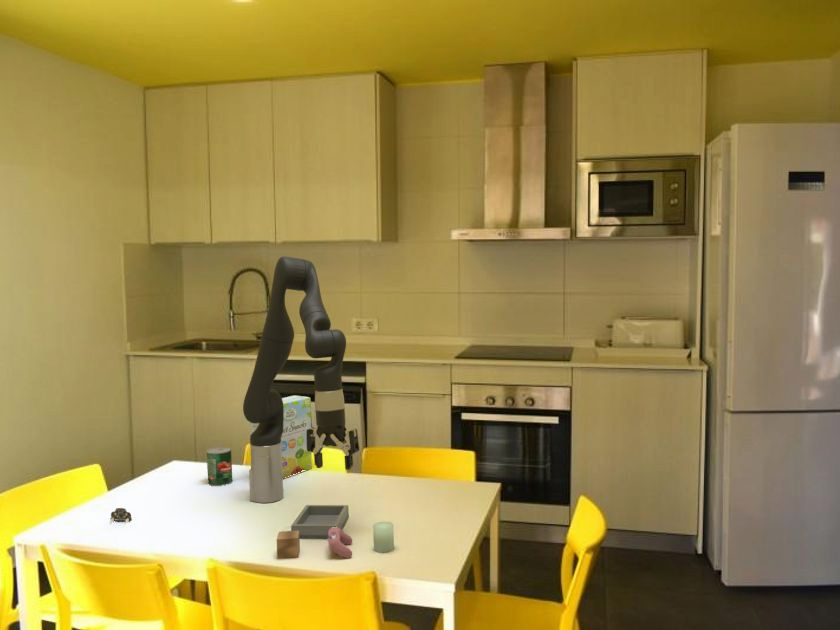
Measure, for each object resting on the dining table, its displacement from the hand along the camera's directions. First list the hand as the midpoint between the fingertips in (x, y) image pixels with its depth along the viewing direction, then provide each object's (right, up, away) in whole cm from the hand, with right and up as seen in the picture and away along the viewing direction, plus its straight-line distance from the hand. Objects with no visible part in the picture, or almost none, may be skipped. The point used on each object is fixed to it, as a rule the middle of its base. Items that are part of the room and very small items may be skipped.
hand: (334, 468), depth 188 cm
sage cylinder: (+13, -18, -9) cm, 24 cm away
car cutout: (-58, -19, +14) cm, 62 cm away
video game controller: (+3, -19, -10) cm, 21 cm away
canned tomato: (-44, -16, +50) cm, 68 cm away
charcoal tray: (-4, -17, +6) cm, 19 cm away
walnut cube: (-10, -19, -11) cm, 24 cm away
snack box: (-24, -15, +56) cm, 63 cm away
